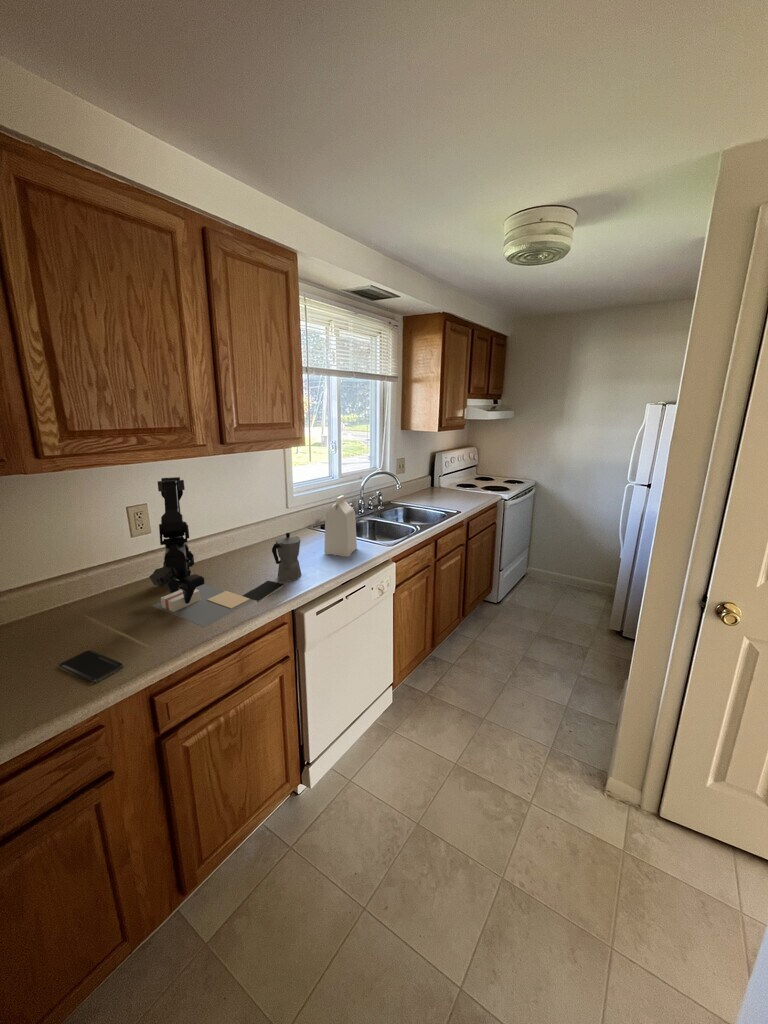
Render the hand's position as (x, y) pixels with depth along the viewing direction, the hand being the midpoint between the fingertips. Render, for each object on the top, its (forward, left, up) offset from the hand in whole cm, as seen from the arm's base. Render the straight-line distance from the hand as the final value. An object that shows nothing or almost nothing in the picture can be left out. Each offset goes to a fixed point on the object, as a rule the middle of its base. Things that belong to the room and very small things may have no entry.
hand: (181, 600), depth 137 cm
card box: (0, 0, -1) cm, 1 cm away
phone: (+11, -33, -2) cm, 35 cm away
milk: (+14, +72, -2) cm, 73 cm away
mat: (+6, +4, -2) cm, 7 cm away
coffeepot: (+14, +36, -2) cm, 39 cm away
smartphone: (+15, +22, -2) cm, 27 cm away
